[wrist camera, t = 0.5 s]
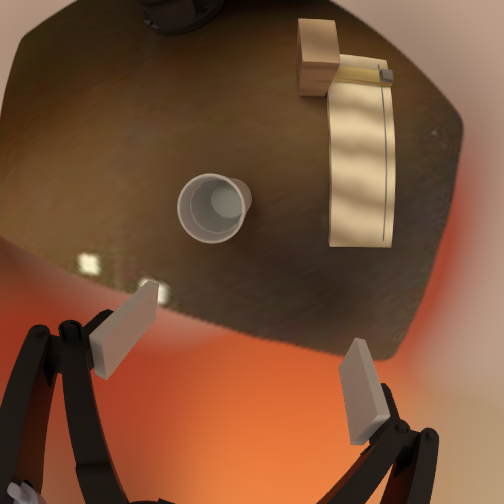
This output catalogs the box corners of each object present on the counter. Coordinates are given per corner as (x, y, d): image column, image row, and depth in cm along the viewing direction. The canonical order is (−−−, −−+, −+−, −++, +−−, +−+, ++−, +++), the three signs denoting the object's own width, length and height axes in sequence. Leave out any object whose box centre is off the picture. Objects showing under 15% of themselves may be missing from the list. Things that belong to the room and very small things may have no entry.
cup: (265, 212, 42) (256, 228, 30) (218, 231, 43) (194, 252, 32) (245, 164, 40) (228, 162, 28) (198, 185, 42) (167, 191, 30)
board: (322, 58, 33) (324, 53, 31) (382, 64, 32) (386, 60, 30) (328, 243, 42) (330, 246, 40) (386, 243, 40) (391, 247, 38)
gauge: (296, 62, 34) (298, 18, 21) (381, 69, 32) (415, 35, 19) (298, 95, 36) (302, 61, 22) (385, 102, 34) (424, 77, 20)
